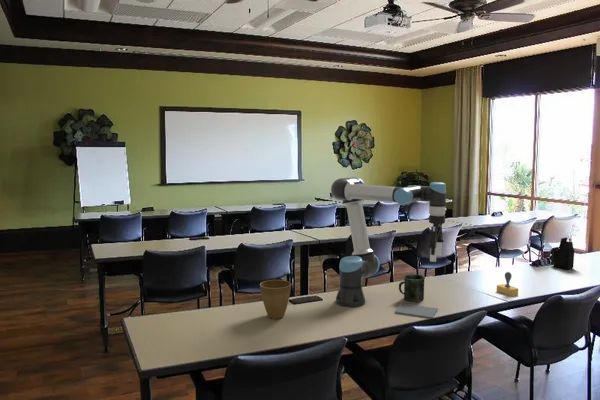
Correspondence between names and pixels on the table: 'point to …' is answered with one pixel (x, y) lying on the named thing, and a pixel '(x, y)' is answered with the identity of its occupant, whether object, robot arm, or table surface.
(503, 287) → the rubber stamp
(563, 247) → the camera
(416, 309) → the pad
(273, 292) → the plant pot
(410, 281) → the mug
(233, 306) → the table surface
